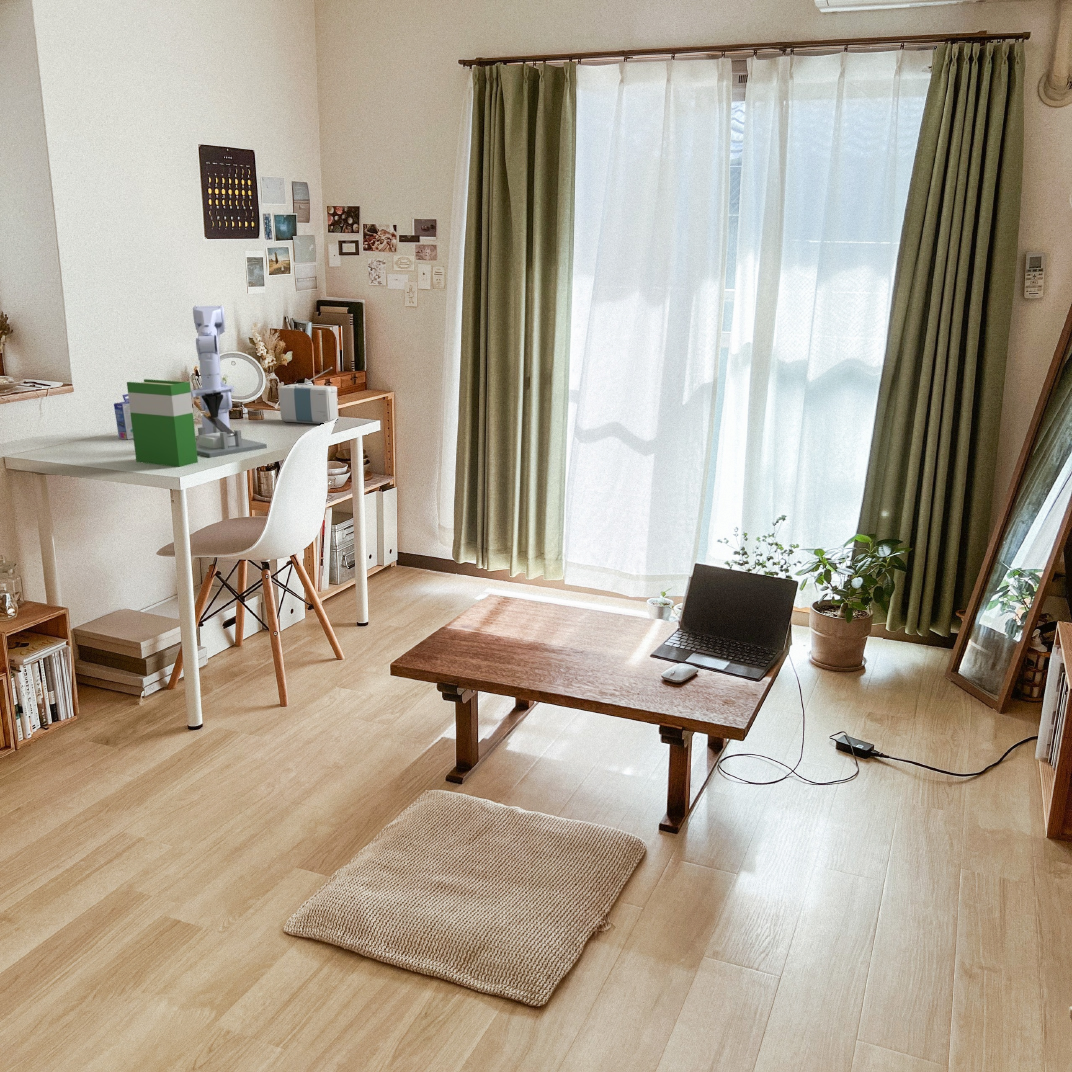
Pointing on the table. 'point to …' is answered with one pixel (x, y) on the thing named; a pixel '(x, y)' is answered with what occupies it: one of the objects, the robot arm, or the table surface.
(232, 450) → the board
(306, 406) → the stereo radio cassette player
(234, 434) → the clamp bar
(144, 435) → the hardback book
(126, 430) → the ink cartridge box
